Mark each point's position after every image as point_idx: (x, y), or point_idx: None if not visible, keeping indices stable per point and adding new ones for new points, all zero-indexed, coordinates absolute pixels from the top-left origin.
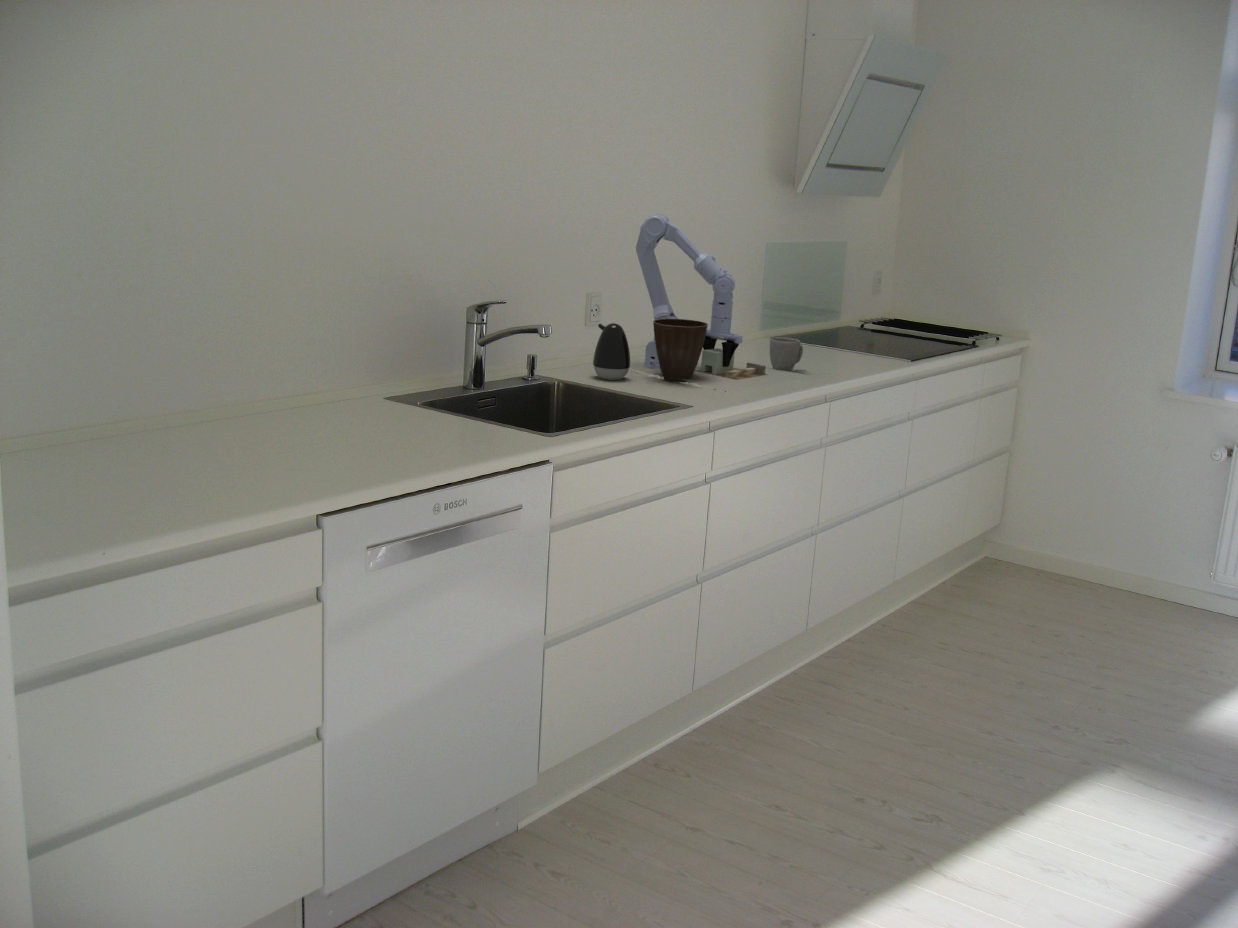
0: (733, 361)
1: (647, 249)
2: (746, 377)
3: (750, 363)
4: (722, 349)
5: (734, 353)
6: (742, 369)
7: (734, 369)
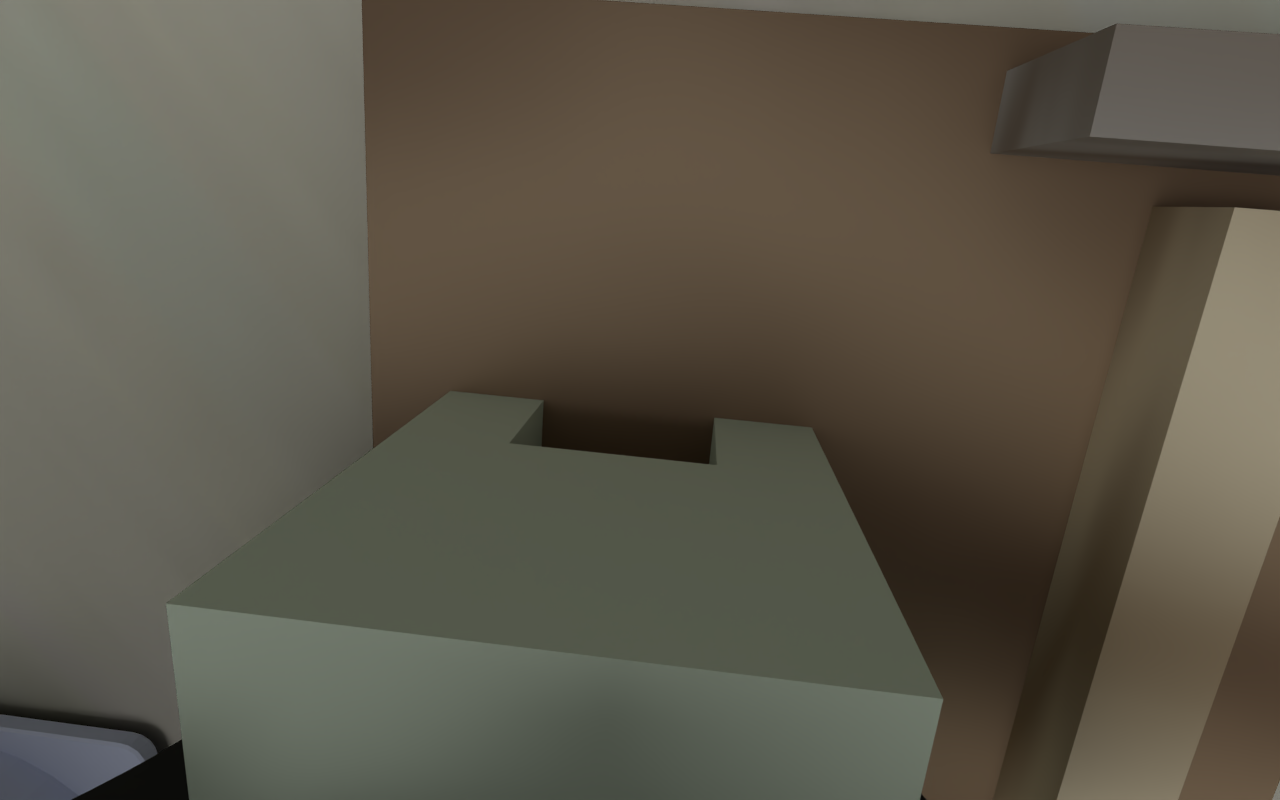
0: (848, 521)
1: None
2: (1273, 722)
3: (1231, 148)
4: (448, 794)
5: (911, 634)
6: (1155, 617)
7: (712, 195)
